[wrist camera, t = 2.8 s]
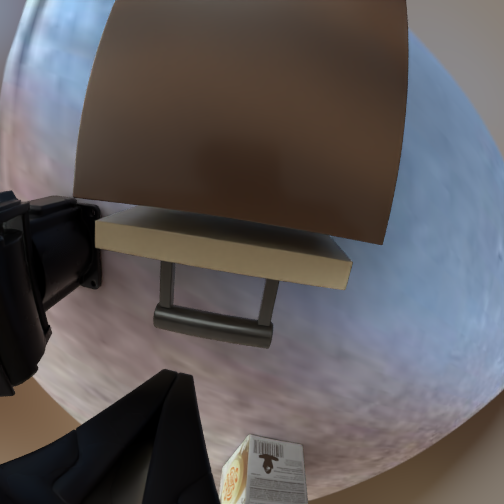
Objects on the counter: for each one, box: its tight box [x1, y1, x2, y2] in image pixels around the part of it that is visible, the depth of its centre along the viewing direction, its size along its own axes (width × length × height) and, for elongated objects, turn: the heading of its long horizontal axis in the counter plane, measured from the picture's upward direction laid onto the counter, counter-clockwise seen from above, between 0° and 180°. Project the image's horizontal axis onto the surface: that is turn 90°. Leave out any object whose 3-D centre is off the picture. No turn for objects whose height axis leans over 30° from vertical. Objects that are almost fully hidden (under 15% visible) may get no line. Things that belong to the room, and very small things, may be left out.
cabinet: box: [73, 0, 408, 245], centre depth 11 cm, size 14×12×9 cm
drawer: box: [95, 205, 353, 349], centre depth 13 cm, size 17×10×7 cm, turn 171°
